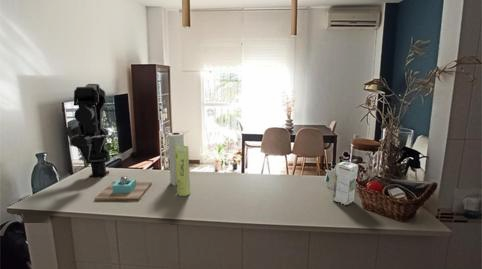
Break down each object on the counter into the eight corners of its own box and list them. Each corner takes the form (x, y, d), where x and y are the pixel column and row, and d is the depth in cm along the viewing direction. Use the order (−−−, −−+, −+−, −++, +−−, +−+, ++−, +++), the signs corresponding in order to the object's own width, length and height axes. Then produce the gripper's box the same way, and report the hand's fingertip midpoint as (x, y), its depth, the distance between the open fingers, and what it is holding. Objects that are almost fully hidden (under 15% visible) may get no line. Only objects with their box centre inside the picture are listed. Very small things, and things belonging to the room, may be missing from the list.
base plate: (113, 184, 123) (113, 181, 123) (151, 184, 123) (151, 182, 123) (94, 200, 107) (94, 198, 107) (138, 201, 107) (138, 198, 107)
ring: (119, 186, 118) (119, 179, 117) (136, 186, 118) (135, 179, 117) (112, 193, 112) (112, 185, 111) (130, 193, 112) (129, 185, 111)
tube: (174, 196, 111) (172, 146, 107) (176, 191, 116) (174, 143, 112) (189, 196, 112) (188, 146, 107) (191, 191, 116) (189, 143, 112)
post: (123, 188, 116) (122, 176, 115) (129, 188, 116) (128, 176, 115) (120, 190, 114) (119, 178, 113) (126, 190, 114) (125, 178, 113)
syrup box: (339, 197, 112) (343, 160, 109) (354, 202, 108) (358, 164, 105) (332, 201, 108) (335, 163, 105) (347, 206, 104) (351, 167, 101)
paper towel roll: (178, 178, 129) (176, 131, 125) (188, 182, 126) (186, 133, 121) (165, 183, 124) (162, 134, 119) (175, 187, 120) (173, 136, 116)
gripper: (80, 115, 125) (84, 150, 128) (53, 122, 107) (58, 164, 110) (107, 115, 125) (110, 151, 128) (84, 123, 107) (88, 164, 110)
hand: (92, 157), depth 119 cm, fingers open, 9 cm apart
